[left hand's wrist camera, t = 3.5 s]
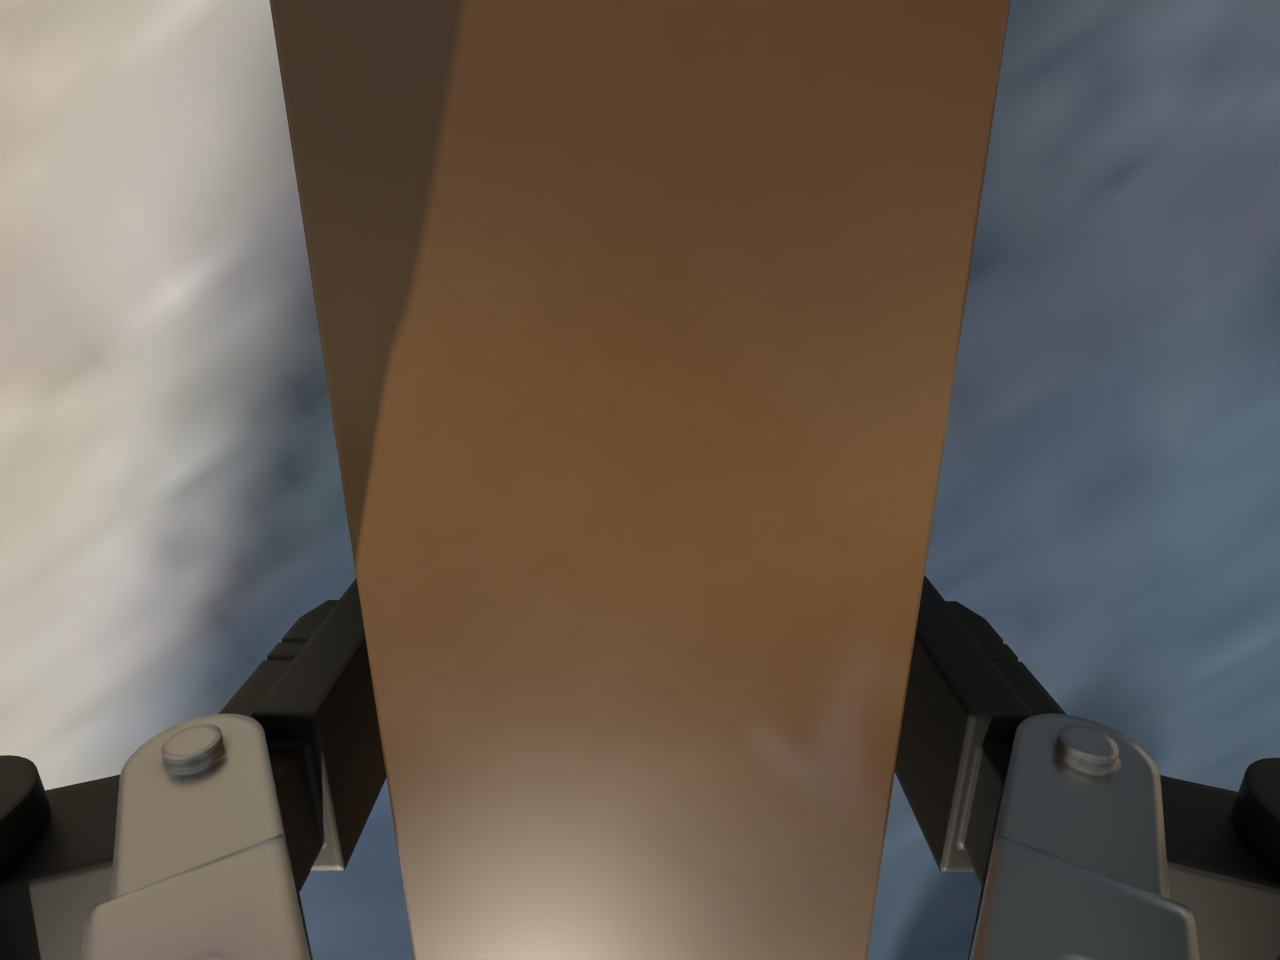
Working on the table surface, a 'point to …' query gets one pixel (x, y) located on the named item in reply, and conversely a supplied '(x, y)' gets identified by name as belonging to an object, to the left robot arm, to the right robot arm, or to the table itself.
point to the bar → (640, 441)
